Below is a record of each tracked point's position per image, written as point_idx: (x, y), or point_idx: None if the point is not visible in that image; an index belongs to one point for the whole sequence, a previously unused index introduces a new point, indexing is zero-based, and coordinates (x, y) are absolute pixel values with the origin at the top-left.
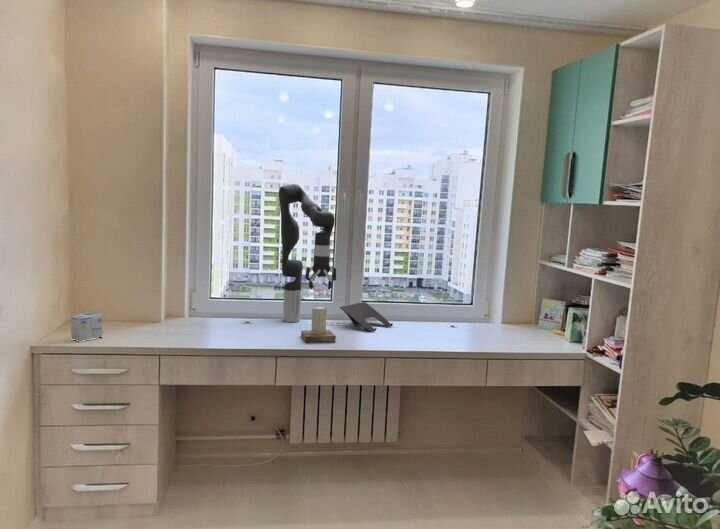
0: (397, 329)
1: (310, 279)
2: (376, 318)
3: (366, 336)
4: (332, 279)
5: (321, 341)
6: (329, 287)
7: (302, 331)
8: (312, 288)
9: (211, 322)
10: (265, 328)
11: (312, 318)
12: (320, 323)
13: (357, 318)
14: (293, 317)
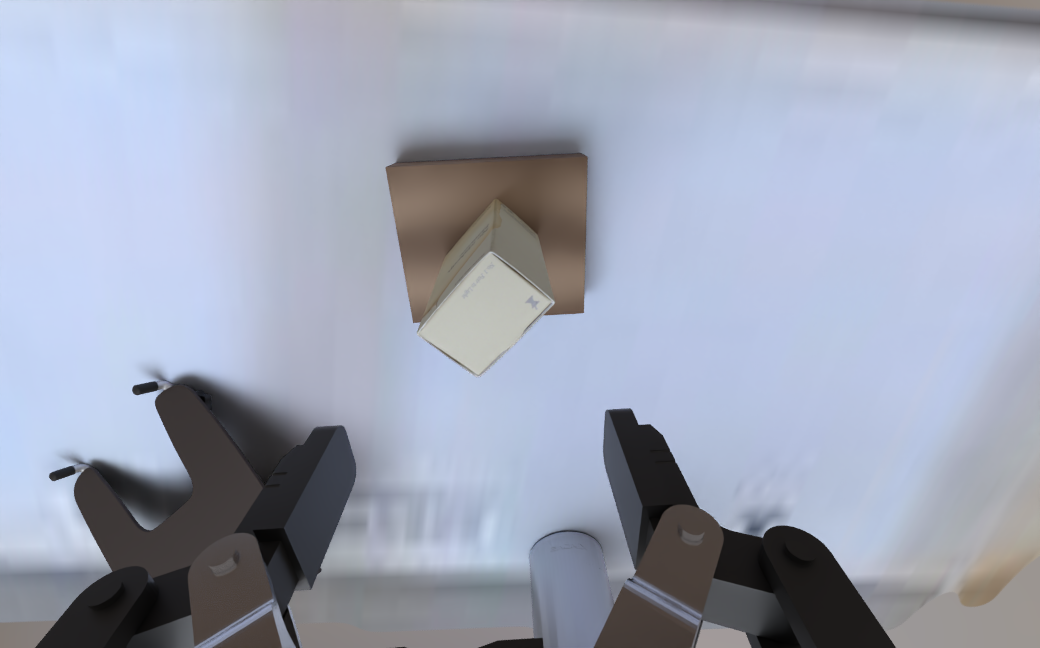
0: (34, 431)
1: (716, 544)
2: (134, 521)
3: (201, 296)
4: (183, 597)
5: (483, 159)
6: (320, 445)
7: (581, 291)
8: (610, 413)
9: (898, 524)
10: (711, 444)
11: (543, 265)
12: (484, 225)
13: (231, 480)
14: (565, 551)
